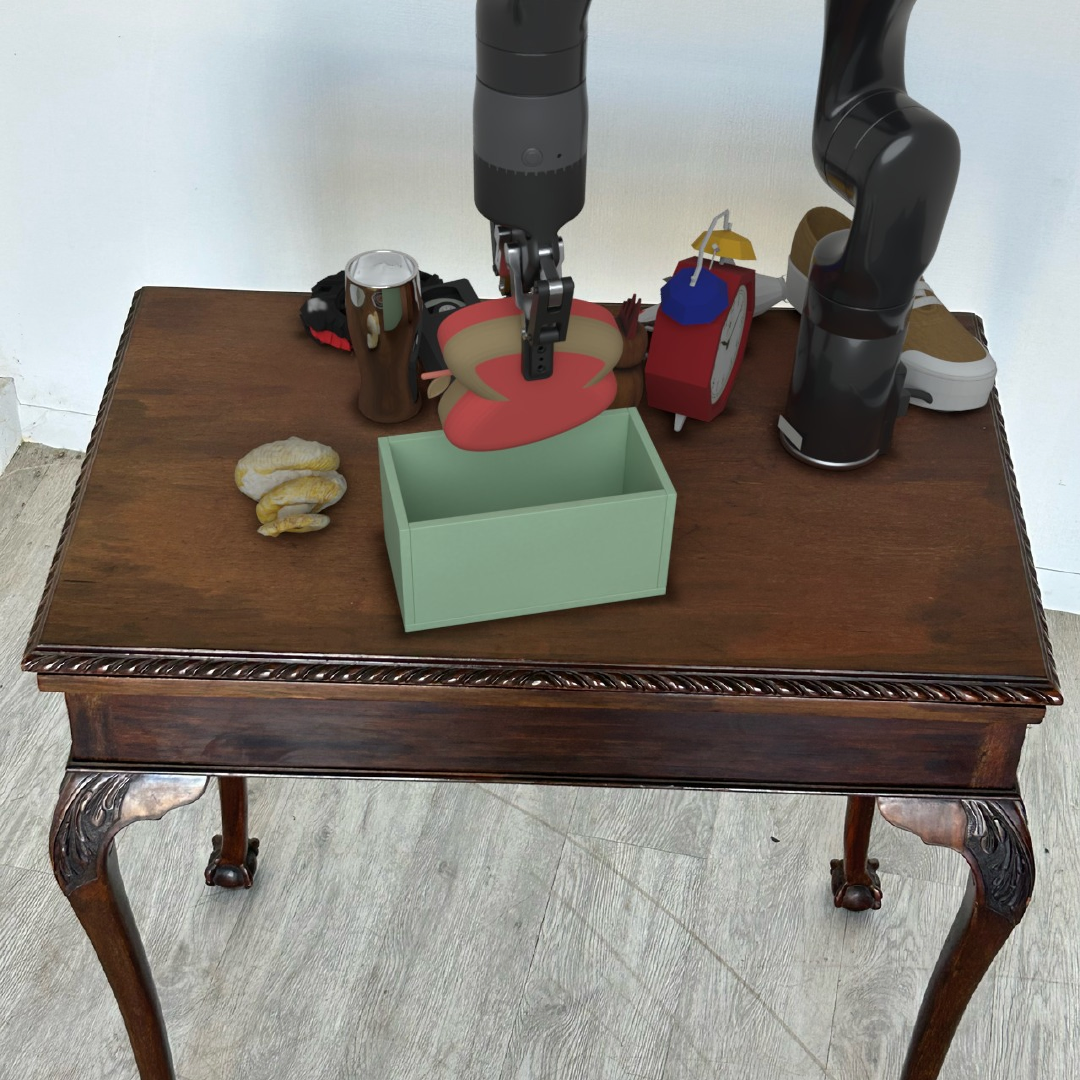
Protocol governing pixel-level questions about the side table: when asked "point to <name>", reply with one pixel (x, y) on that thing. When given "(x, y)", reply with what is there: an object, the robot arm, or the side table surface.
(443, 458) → the bin
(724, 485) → the side table surface
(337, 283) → the toy
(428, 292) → the vhs tape
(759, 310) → the fish
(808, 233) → the sneaker
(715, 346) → the alarm clock
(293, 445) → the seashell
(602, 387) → the decorative object
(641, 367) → the wooden figurine
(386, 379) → the beer glass
